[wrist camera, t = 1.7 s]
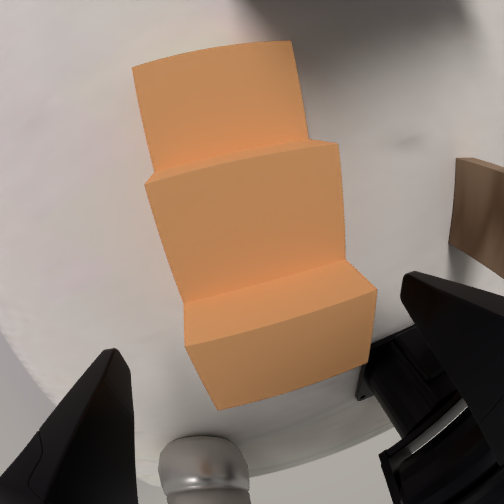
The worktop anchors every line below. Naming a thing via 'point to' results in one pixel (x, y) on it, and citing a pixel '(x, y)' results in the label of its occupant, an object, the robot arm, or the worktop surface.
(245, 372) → the orange stepped block
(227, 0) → the worktop surface
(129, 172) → the worktop surface
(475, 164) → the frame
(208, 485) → the silver bottle
